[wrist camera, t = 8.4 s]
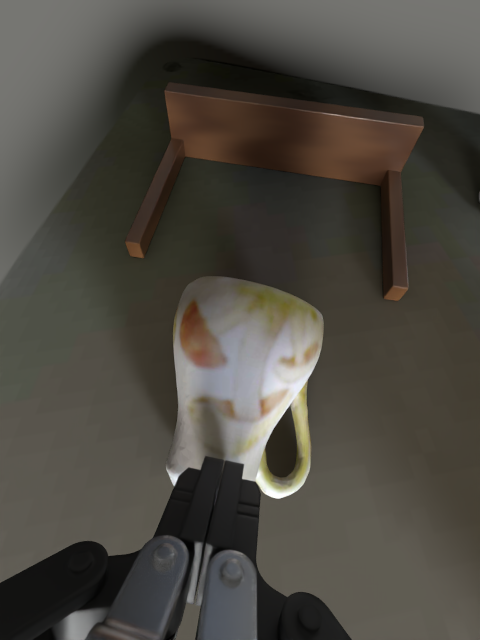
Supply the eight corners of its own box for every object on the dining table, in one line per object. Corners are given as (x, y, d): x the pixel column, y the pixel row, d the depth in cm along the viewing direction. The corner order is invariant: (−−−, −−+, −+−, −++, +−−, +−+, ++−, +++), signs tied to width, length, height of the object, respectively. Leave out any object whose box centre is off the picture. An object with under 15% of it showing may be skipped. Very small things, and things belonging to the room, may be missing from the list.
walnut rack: (129, 256, 23) (107, 197, 19) (177, 146, 29) (168, 81, 25) (398, 301, 22) (440, 250, 18) (392, 177, 28) (423, 116, 24)
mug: (132, 504, 16) (72, 327, 11) (219, 377, 24) (207, 237, 19) (285, 570, 14) (298, 378, 9) (327, 404, 21) (348, 251, 16)
